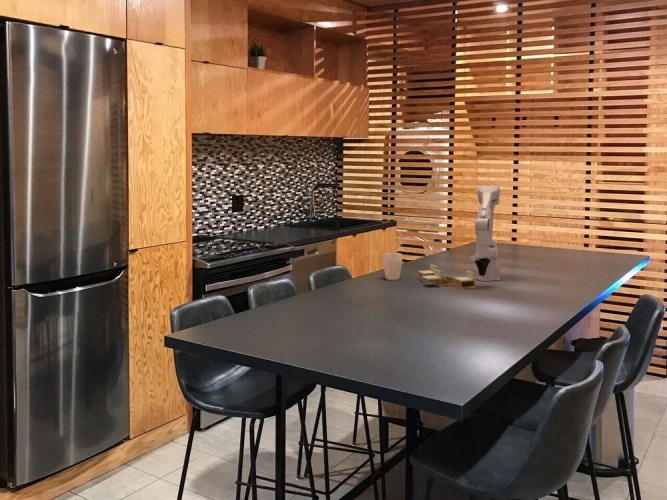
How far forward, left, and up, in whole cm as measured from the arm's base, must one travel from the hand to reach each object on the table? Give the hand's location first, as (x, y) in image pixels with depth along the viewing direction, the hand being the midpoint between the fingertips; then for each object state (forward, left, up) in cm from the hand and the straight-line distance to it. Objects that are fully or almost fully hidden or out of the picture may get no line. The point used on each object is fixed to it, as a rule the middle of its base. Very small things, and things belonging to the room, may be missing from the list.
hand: (482, 275), depth 298 cm
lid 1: (+17, -22, -1) cm, 28 cm away
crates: (+13, -11, -5) cm, 17 cm away
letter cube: (+16, -22, -5) cm, 28 cm away
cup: (+30, -32, -5) cm, 45 cm away
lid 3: (+8, 0, -1) cm, 9 cm away
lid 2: (+20, -9, -1) cm, 22 cm away
